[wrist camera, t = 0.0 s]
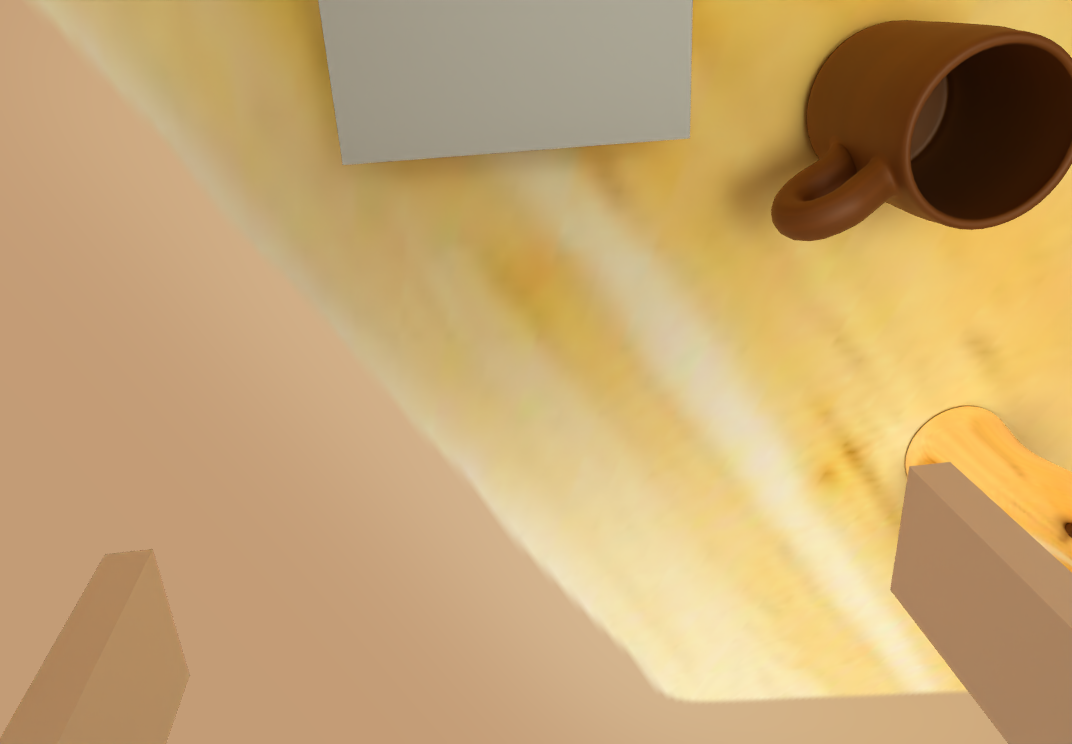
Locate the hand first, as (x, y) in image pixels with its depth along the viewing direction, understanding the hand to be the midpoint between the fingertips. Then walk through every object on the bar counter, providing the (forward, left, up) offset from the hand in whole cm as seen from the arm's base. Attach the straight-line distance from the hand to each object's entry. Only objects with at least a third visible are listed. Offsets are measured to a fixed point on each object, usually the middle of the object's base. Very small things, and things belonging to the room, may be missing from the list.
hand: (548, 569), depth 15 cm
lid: (-9, +2, -22) cm, 24 cm away
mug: (-2, +18, -28) cm, 33 cm away
